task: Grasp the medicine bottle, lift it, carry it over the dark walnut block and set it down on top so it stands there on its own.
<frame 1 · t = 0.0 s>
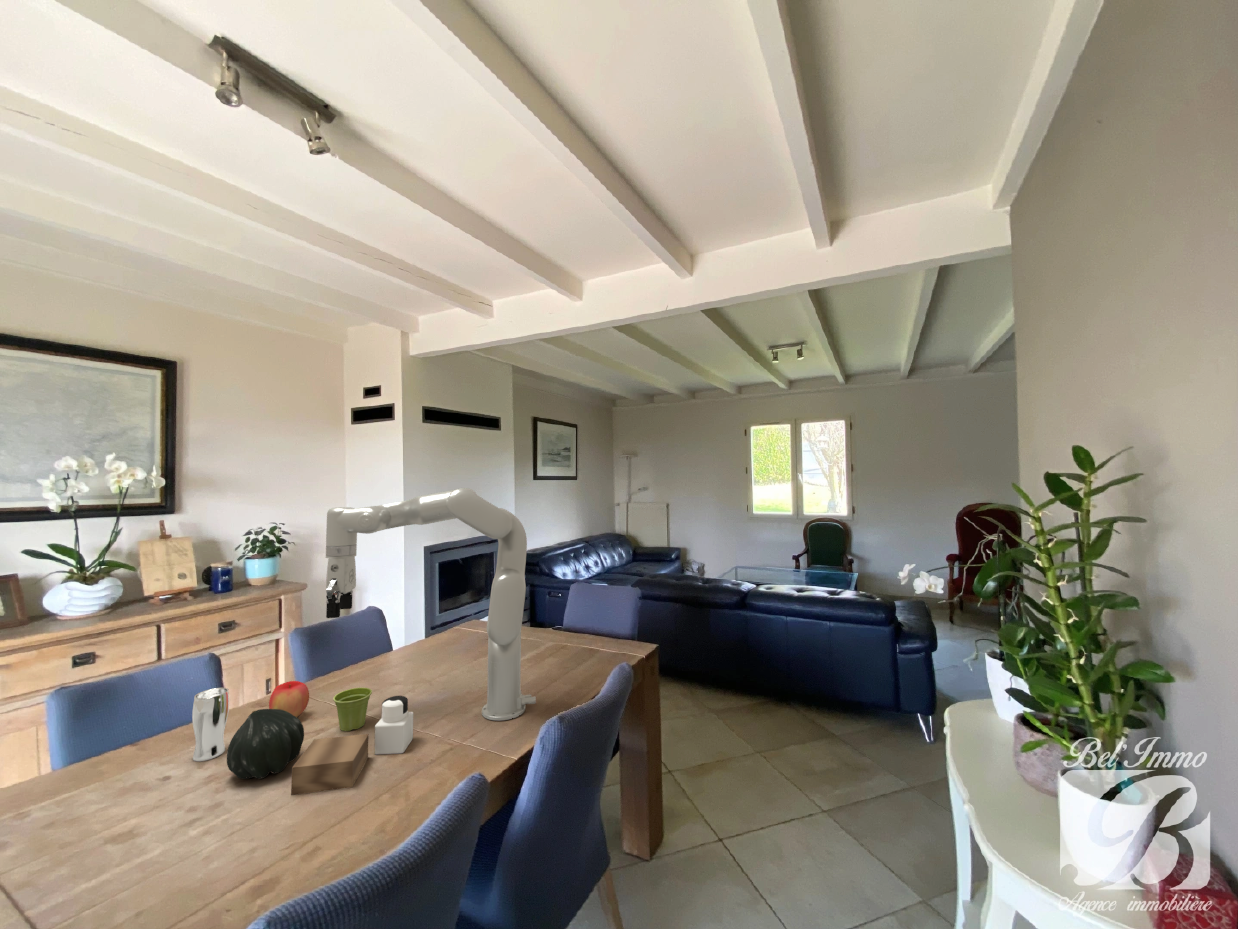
hand: (339, 613, 134), 31 cm above the table, fingers open, 9 cm apart
plant pot: (352, 727, 133), on the table
medicine bottle: (394, 747, 122), on the table
apple: (288, 720, 137), on the table
silver metal vase: (209, 755, 119), on the table
squash: (266, 770, 113), on the table
walnut block: (332, 776, 110), on the table
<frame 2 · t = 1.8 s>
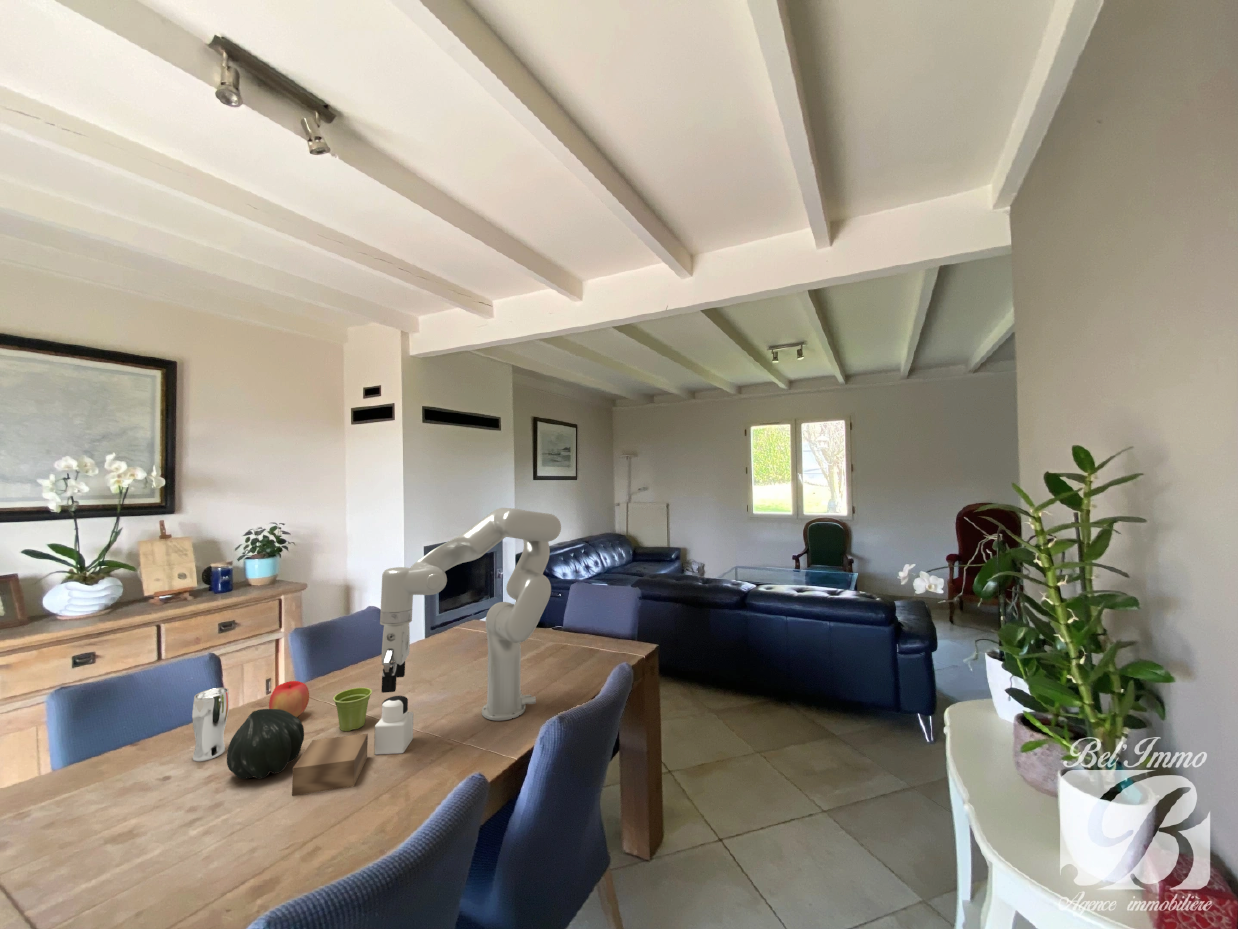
hand: (393, 684, 123), 16 cm above the table, fingers open, 9 cm apart
nothing on the table moved.
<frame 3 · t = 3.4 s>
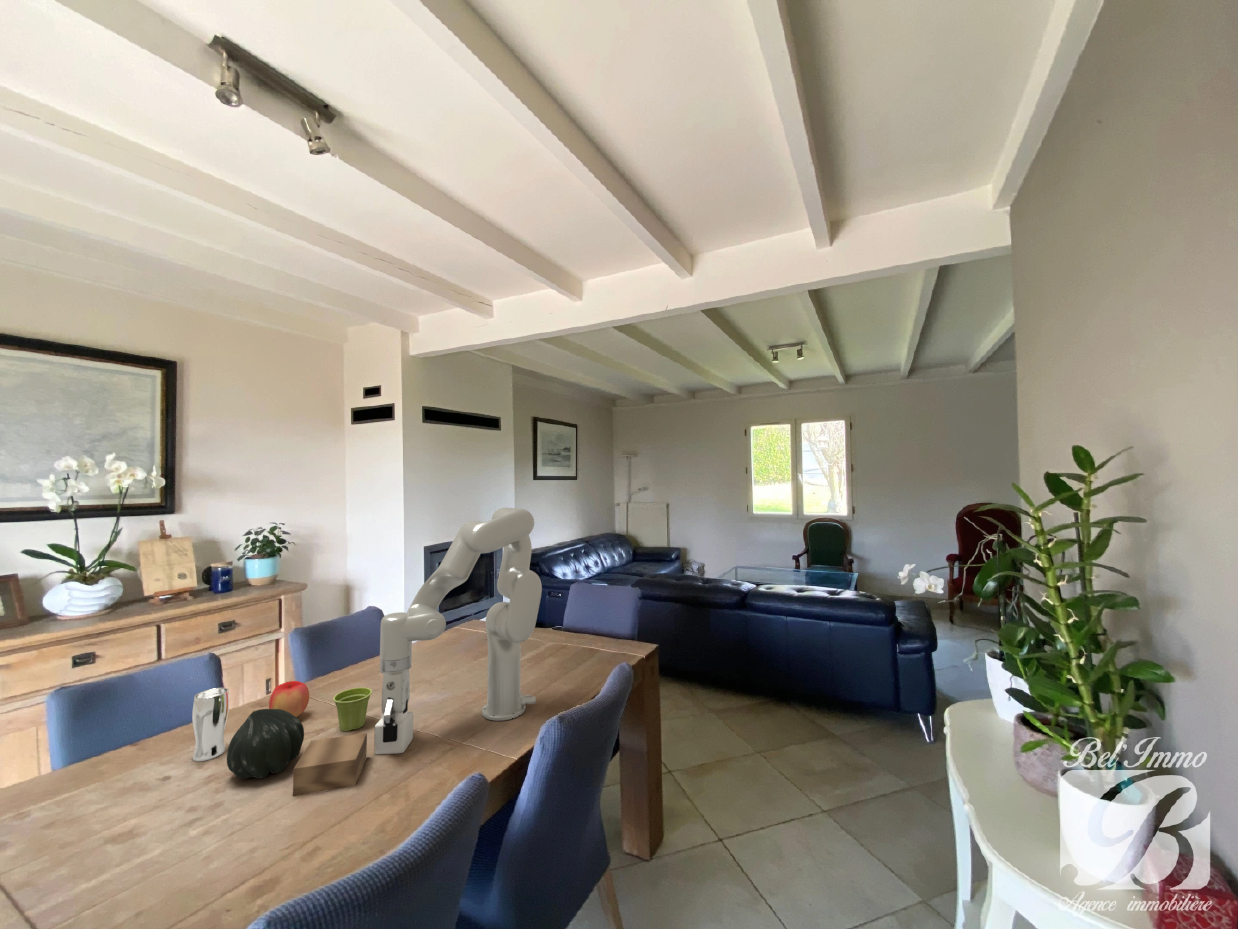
hand: (394, 732, 122), 3 cm above the table, fingers closed on medicine bottle, 7 cm apart
medicine bottle: (394, 747, 122), on the table, touching gripper
everything else where it was.
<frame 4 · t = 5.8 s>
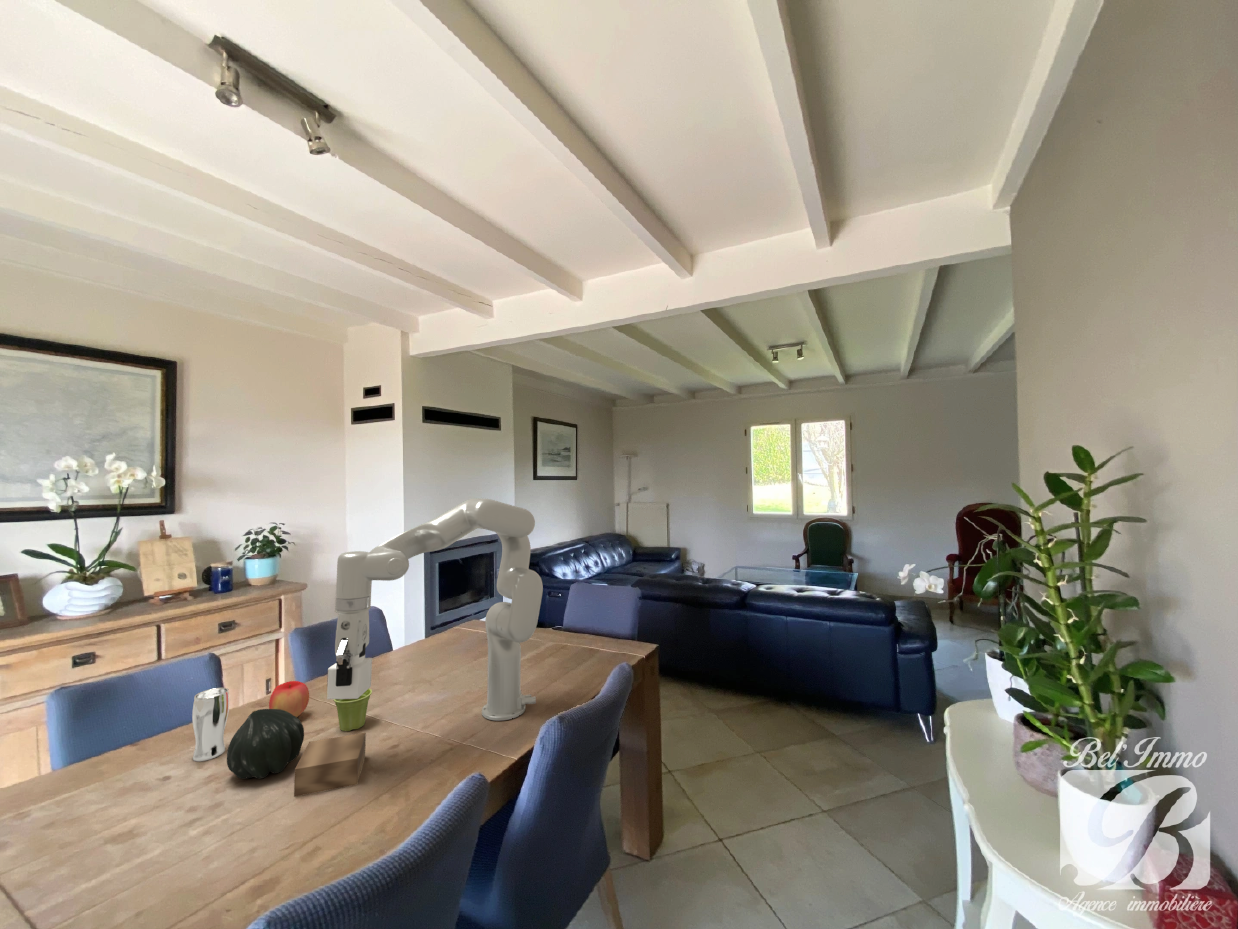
hand: (349, 678, 114), 21 cm above the table, fingers closed on medicine bottle, 7 cm apart
medicine bottle: (349, 694, 114), point 17 cm above the table, touching gripper
everything else where it was.
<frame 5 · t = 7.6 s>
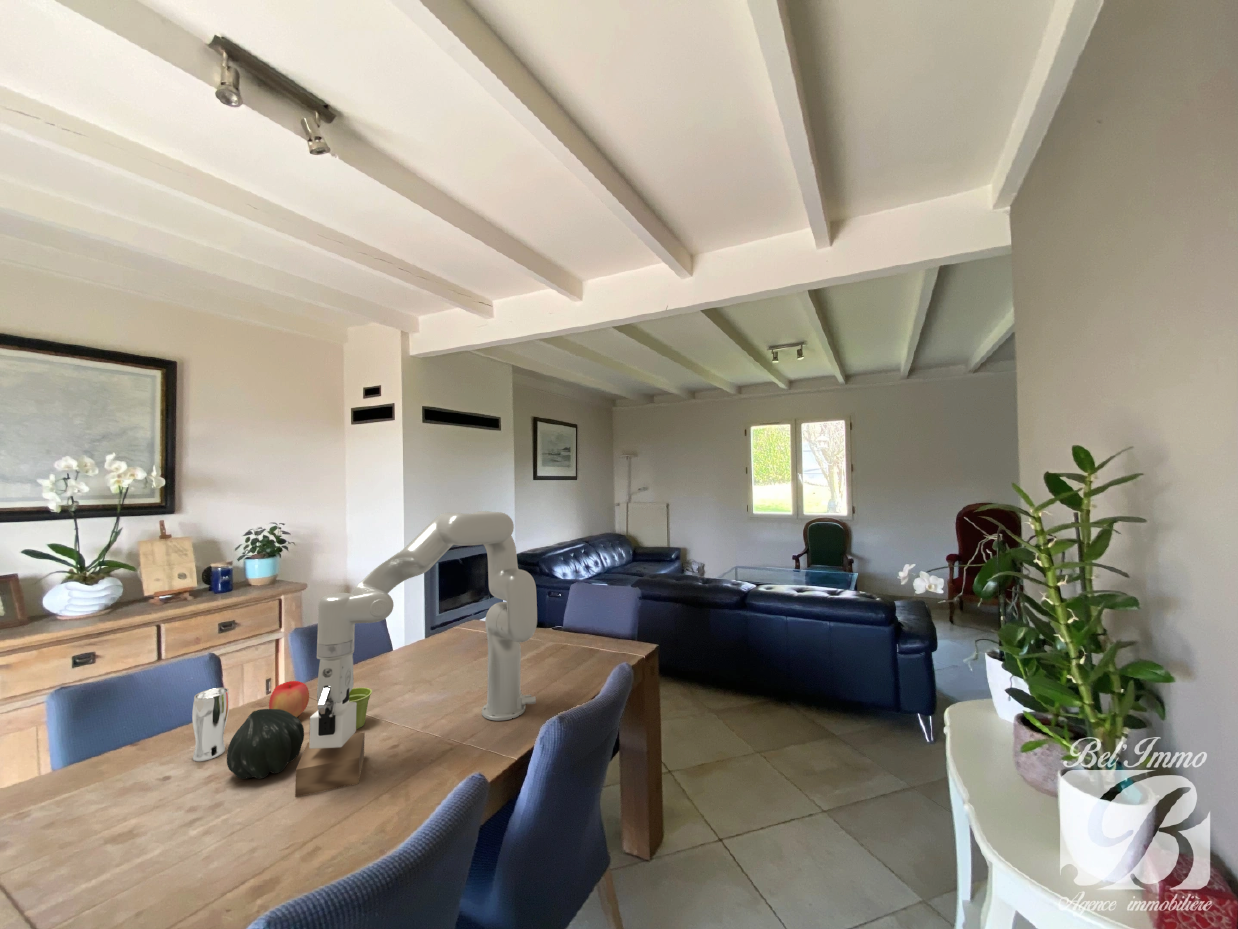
hand: (333, 725, 111), 11 cm above the table, fingers closed on medicine bottle, 7 cm apart
medicine bottle: (333, 741, 111), point 8 cm above the table, touching gripper
everything else where it was.
when the fingers open (10 cm above the table, at t = 8.4 s): medicine bottle drops 1 cm, resting on walnut block.
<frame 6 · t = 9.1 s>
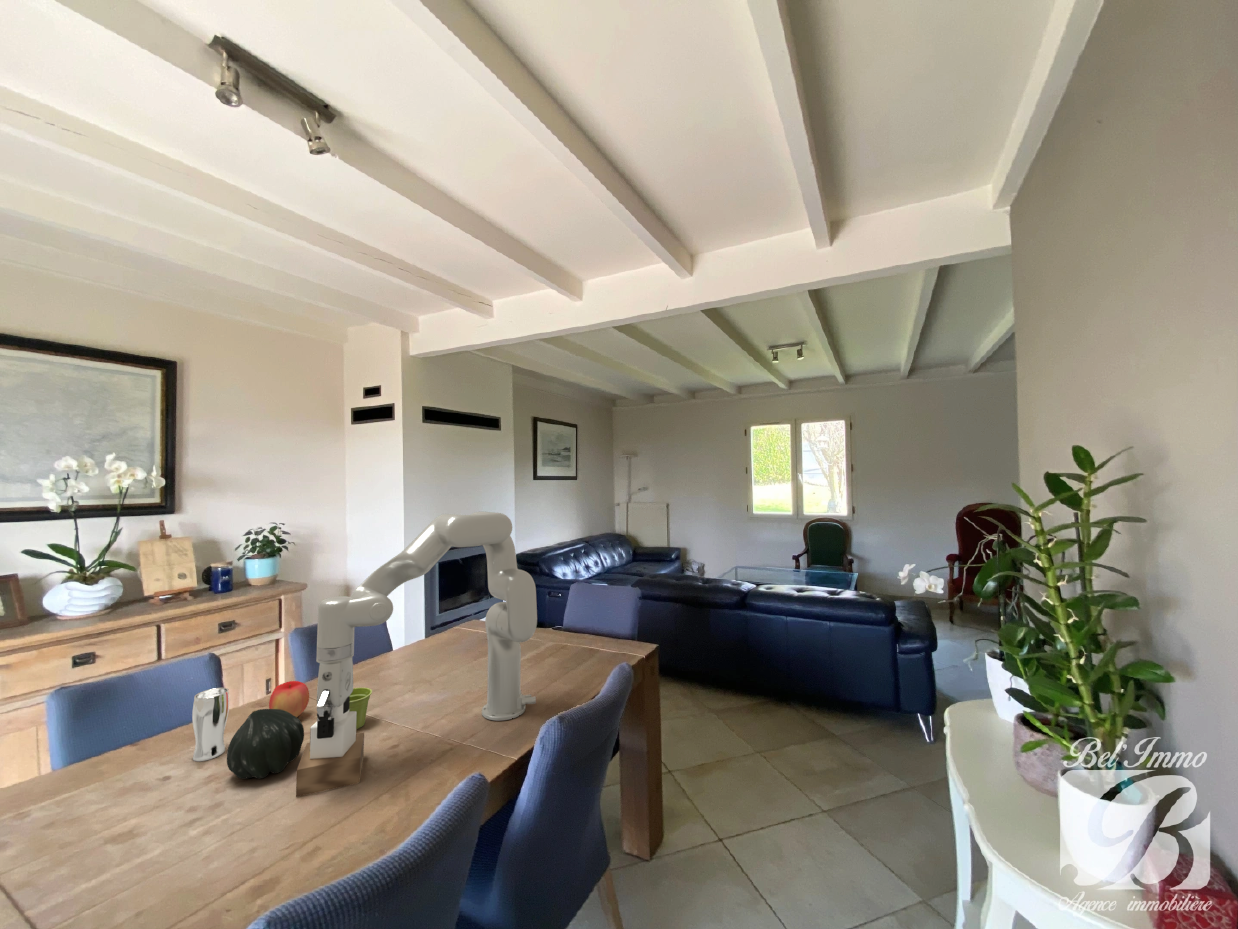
hand: (333, 727, 111), 11 cm above the table, fingers open, 9 cm apart
medicine bottle: (333, 751, 110), point 5 cm above the table, touching walnut block
walnut block: (332, 776, 110), on the table, touching medicine bottle
everything else where it was.
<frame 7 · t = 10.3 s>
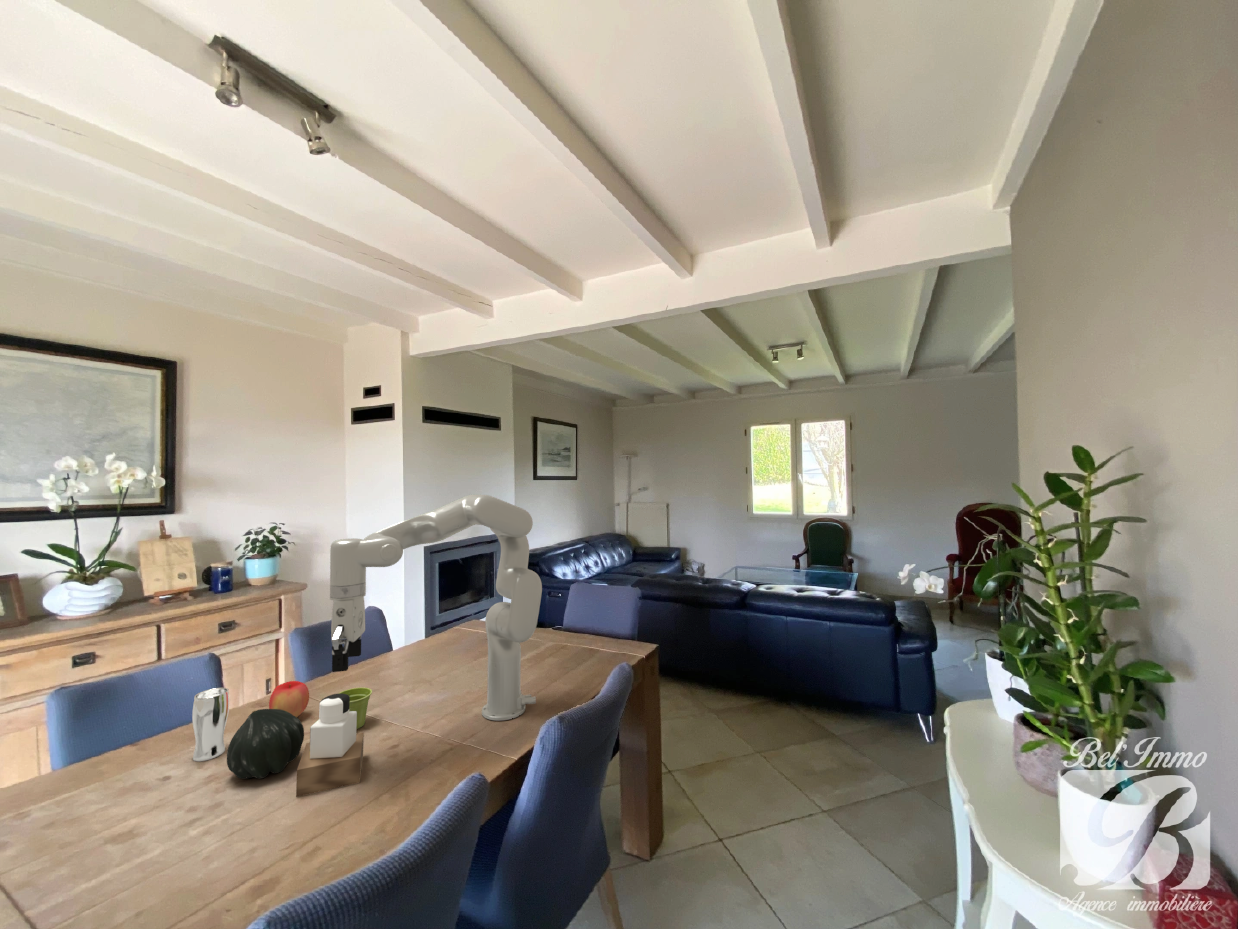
hand: (347, 663, 114), 24 cm above the table, fingers open, 9 cm apart
medicine bottle: (333, 751, 110), point 5 cm above the table
walnut block: (331, 776, 110), on the table
everything else where it was.
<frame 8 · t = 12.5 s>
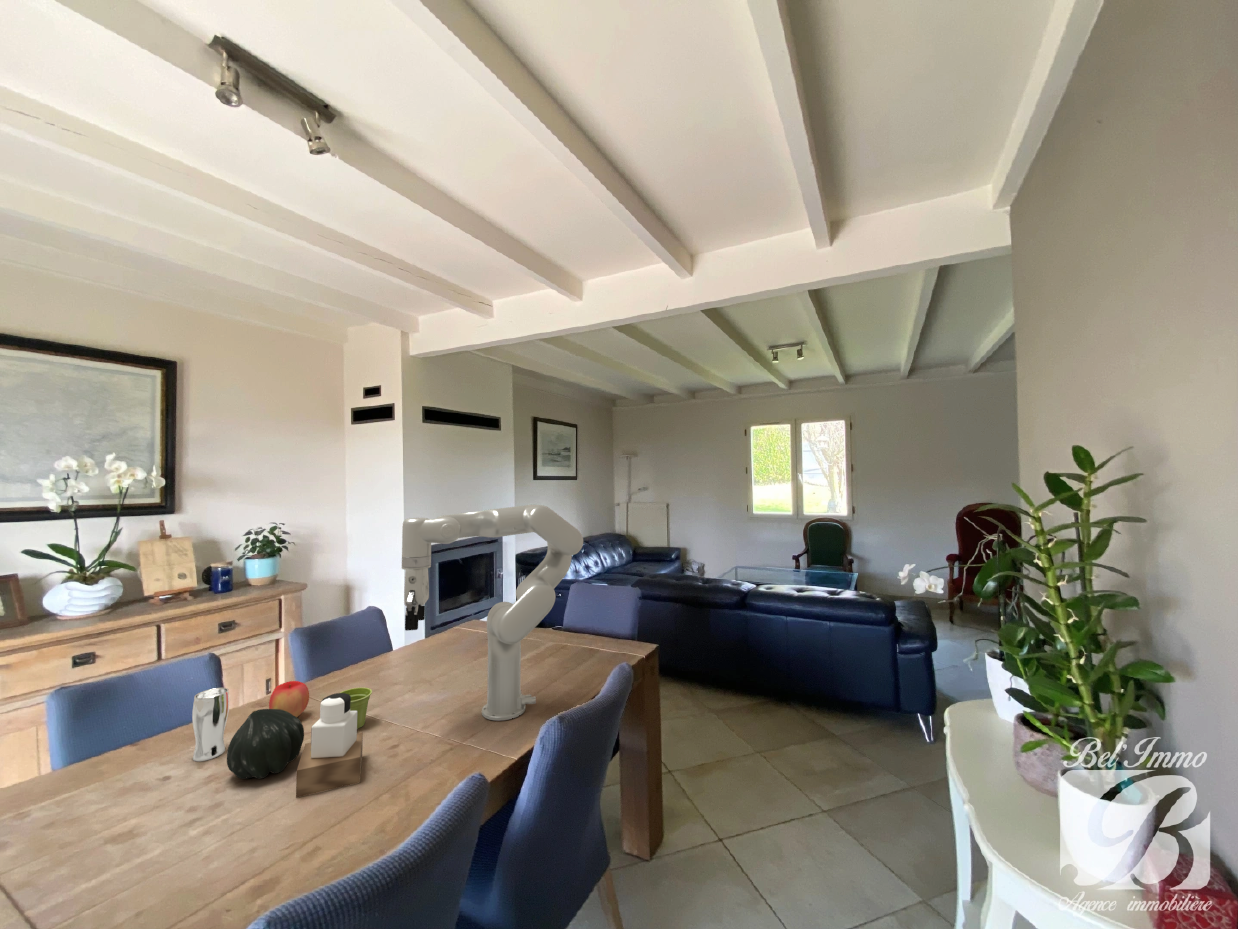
hand: (415, 624, 132), 28 cm above the table, fingers open, 9 cm apart
medicine bottle: (334, 750, 111), point 5 cm above the table, touching walnut block
walnut block: (331, 777, 110), on the table, touching medicine bottle
everything else where it was.
at the end: medicine bottle 0.5 cm from the walnut block (horizontally); medicine bottle tilted 1°; the gripper is holding nothing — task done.
